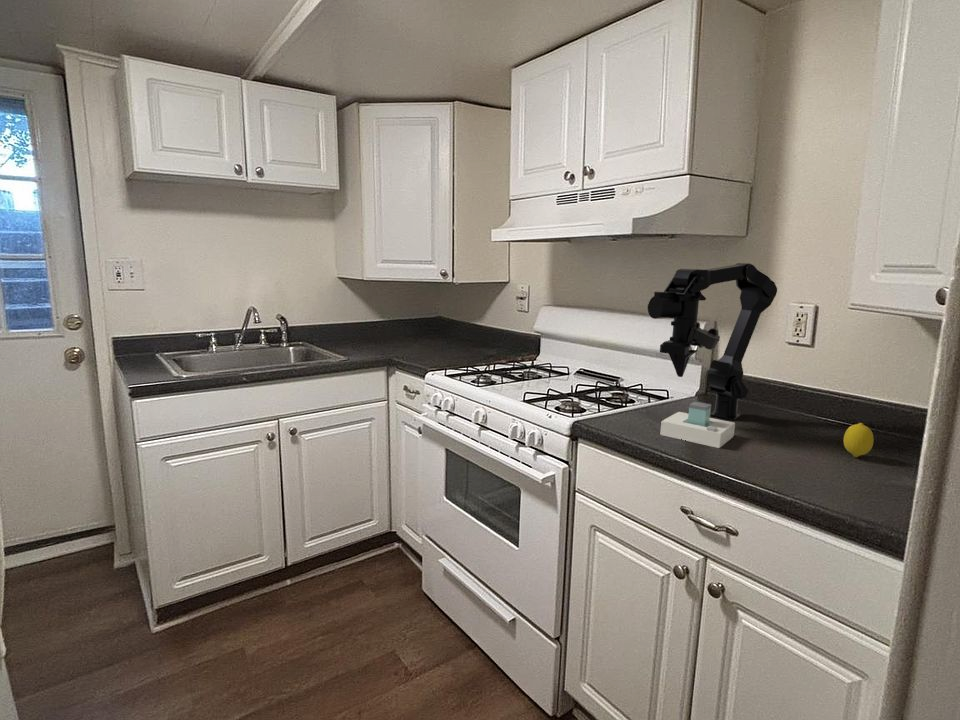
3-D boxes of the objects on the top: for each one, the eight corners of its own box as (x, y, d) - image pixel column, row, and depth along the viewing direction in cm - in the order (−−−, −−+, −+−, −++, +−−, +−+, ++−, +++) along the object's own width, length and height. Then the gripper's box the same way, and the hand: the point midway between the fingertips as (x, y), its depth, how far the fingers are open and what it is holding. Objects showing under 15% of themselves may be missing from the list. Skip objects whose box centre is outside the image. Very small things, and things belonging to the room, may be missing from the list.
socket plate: (677, 424, 146) (678, 409, 145) (733, 436, 138) (735, 420, 137) (660, 434, 137) (661, 418, 136) (719, 448, 128) (721, 431, 128)
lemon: (865, 454, 127) (871, 421, 126) (873, 463, 122) (879, 428, 120) (838, 451, 129) (843, 418, 127) (844, 459, 124) (850, 424, 122)
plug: (691, 432, 140) (694, 401, 139) (707, 435, 138) (711, 404, 136) (686, 435, 137) (689, 404, 135) (702, 439, 135) (706, 407, 133)
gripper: (708, 323, 132) (701, 387, 135) (727, 317, 146) (721, 375, 149) (661, 319, 138) (656, 380, 141) (684, 314, 153) (679, 369, 156)
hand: (680, 376), depth 147 cm, fingers closed
